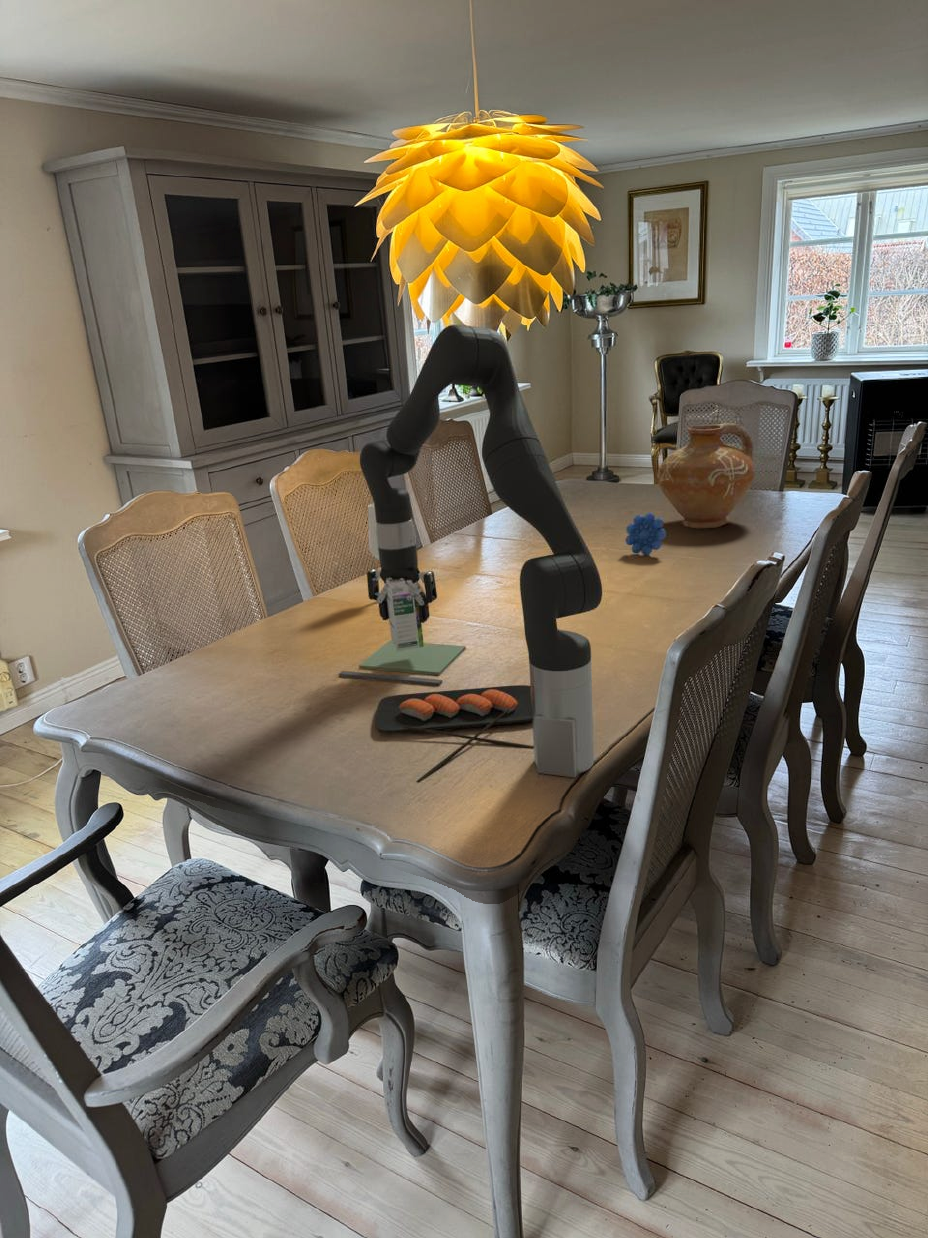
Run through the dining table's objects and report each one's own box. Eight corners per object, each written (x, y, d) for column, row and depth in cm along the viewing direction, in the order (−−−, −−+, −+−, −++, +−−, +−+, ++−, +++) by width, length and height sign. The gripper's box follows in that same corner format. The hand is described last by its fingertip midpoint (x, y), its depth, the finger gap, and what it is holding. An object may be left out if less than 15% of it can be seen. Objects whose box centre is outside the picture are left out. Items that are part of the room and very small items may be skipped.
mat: (439, 675, 169) (439, 672, 169) (359, 667, 176) (358, 665, 176) (465, 648, 181) (465, 646, 181) (389, 643, 188) (389, 640, 188)
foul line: (439, 685, 164) (438, 683, 164) (339, 676, 173) (338, 673, 173) (442, 682, 166) (442, 679, 166) (342, 673, 174) (342, 670, 174)
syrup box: (396, 652, 172) (388, 583, 167) (391, 642, 178) (383, 575, 173) (424, 647, 174) (417, 578, 169) (418, 638, 179) (411, 571, 174)
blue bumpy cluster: (671, 552, 237) (671, 510, 233) (662, 559, 231) (662, 515, 227) (632, 549, 243) (631, 507, 239) (622, 555, 238) (621, 513, 234)
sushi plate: (535, 692, 160) (534, 673, 158) (556, 774, 131) (555, 752, 130) (379, 705, 160) (377, 686, 158) (367, 790, 131) (364, 767, 130)
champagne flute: (397, 601, 215) (386, 507, 207) (371, 601, 217) (360, 508, 208) (404, 593, 221) (394, 501, 213) (379, 593, 223) (368, 502, 215)
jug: (650, 516, 277) (649, 422, 267) (739, 510, 276) (742, 415, 265) (666, 538, 251) (666, 435, 241) (765, 532, 249) (769, 427, 239)
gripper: (355, 546, 168) (365, 624, 173) (421, 548, 163) (429, 629, 168) (373, 536, 174) (382, 612, 180) (437, 538, 169) (444, 616, 174)
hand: (405, 620), depth 174 cm, fingers closed on syrup box, 8 cm apart
